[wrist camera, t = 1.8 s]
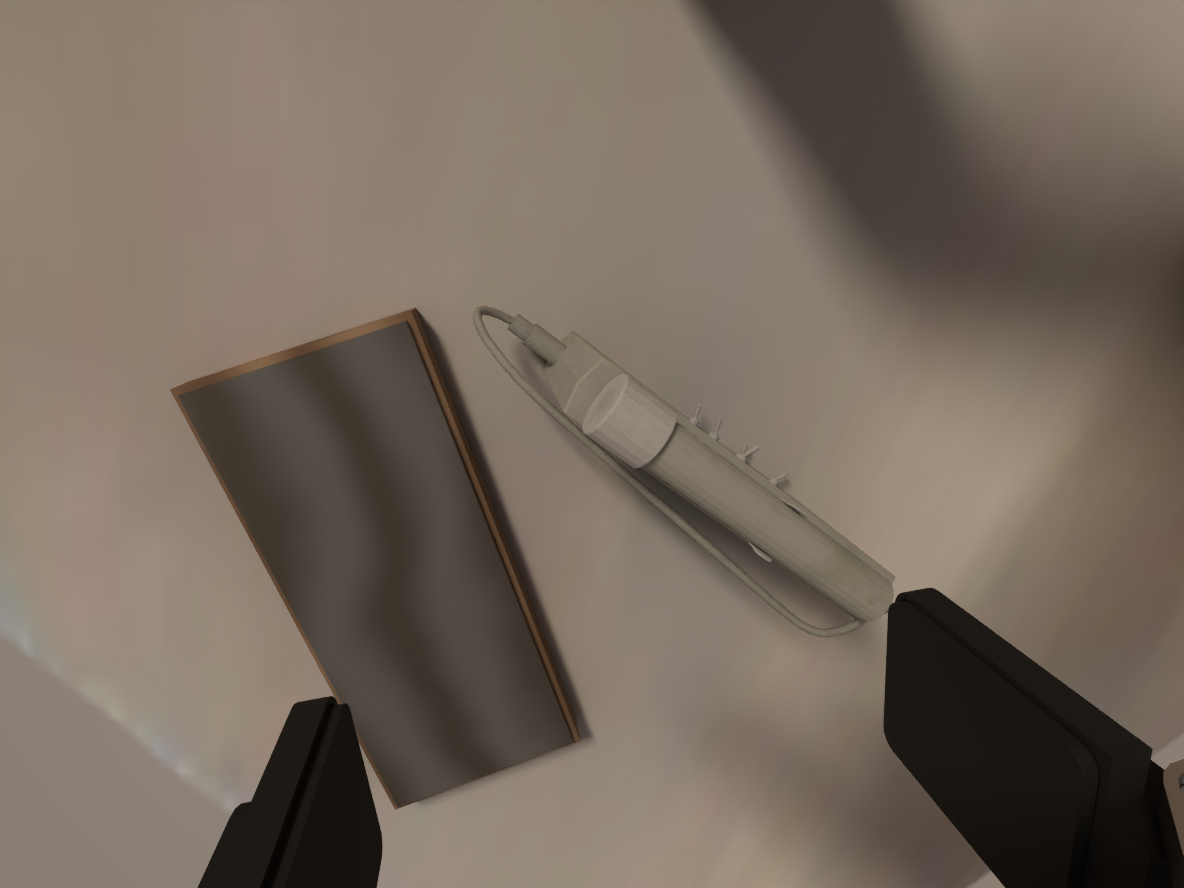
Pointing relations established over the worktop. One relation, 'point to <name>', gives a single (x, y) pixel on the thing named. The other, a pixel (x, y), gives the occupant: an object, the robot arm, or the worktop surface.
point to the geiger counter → (696, 473)
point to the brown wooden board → (386, 552)
